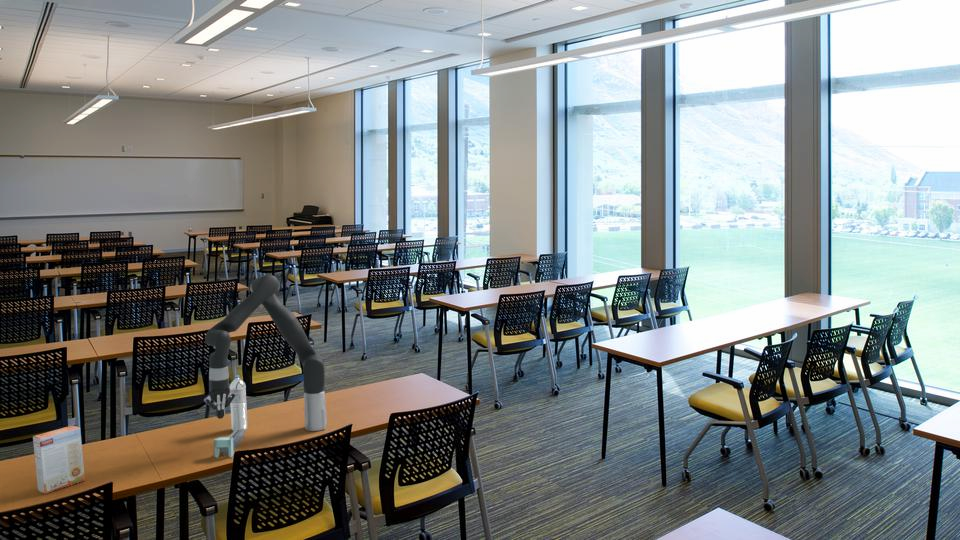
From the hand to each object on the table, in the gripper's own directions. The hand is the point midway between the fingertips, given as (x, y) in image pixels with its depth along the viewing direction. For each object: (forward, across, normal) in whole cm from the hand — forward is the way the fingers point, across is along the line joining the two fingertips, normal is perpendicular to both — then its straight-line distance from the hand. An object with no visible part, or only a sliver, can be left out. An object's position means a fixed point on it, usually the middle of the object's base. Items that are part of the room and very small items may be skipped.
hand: (220, 418), depth 285 cm
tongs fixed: (+14, -6, -1) cm, 15 cm away
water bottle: (+14, -16, -18) cm, 28 cm away
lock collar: (+13, +2, +8) cm, 16 cm away
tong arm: (+13, -6, -3) cm, 15 cm away
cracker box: (+15, +57, -5) cm, 59 cm away
